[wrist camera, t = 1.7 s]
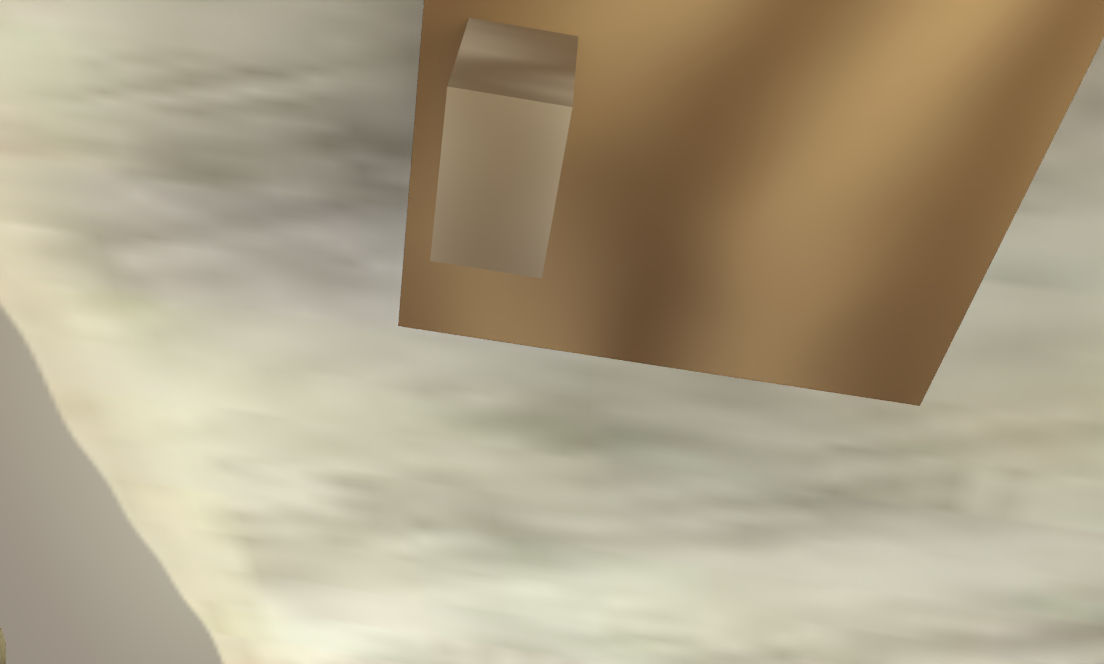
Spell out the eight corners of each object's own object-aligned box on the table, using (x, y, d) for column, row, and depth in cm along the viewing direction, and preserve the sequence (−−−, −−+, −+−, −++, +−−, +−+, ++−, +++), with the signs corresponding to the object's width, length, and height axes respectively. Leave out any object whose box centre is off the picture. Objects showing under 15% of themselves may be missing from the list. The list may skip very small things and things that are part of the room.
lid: (1156, -109, 21) (1263, -42, 17) (913, 389, 29) (953, 502, 25) (447, -238, 20) (412, -195, 17) (402, 310, 28) (372, 415, 25)
